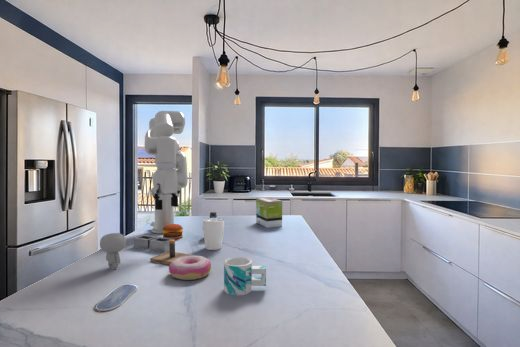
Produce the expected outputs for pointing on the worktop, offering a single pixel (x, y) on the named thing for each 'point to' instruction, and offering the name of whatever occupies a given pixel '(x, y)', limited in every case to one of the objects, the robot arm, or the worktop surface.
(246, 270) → the mug
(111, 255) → the figurine
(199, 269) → the donut
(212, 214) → the perfume bottle
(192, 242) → the worktop surface
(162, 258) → the keeper
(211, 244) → the cup
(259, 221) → the tea box
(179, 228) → the hamburger
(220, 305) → the worktop surface
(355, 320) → the worktop surface
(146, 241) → the grey hollow block
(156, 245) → the link
